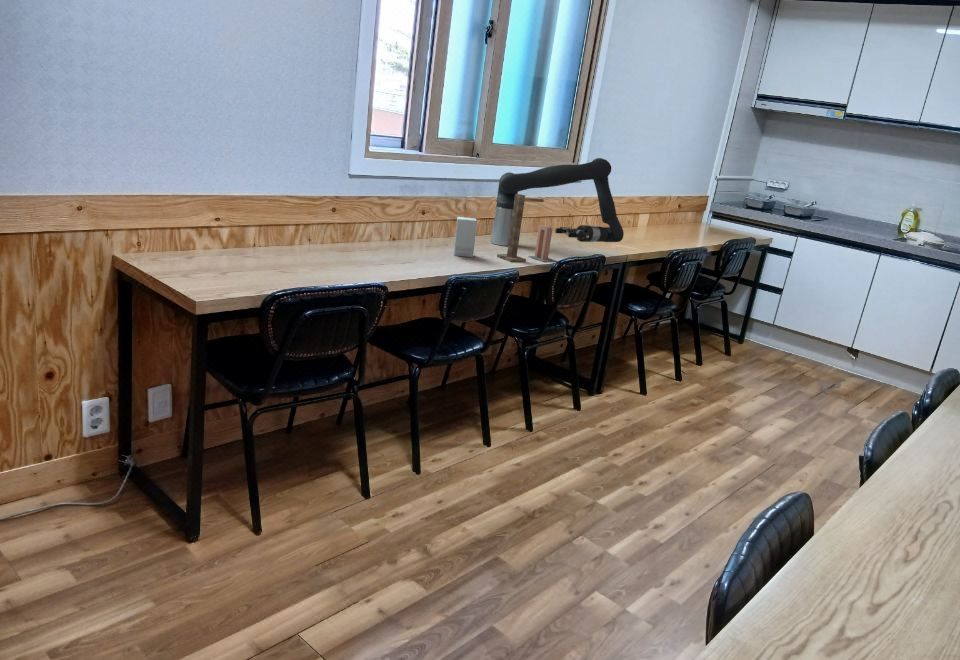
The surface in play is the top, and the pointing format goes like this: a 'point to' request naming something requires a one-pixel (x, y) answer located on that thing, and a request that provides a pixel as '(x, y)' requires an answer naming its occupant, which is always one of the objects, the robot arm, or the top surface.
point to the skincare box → (465, 236)
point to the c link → (543, 241)
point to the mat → (543, 259)
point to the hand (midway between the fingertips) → (562, 232)
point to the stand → (516, 229)
